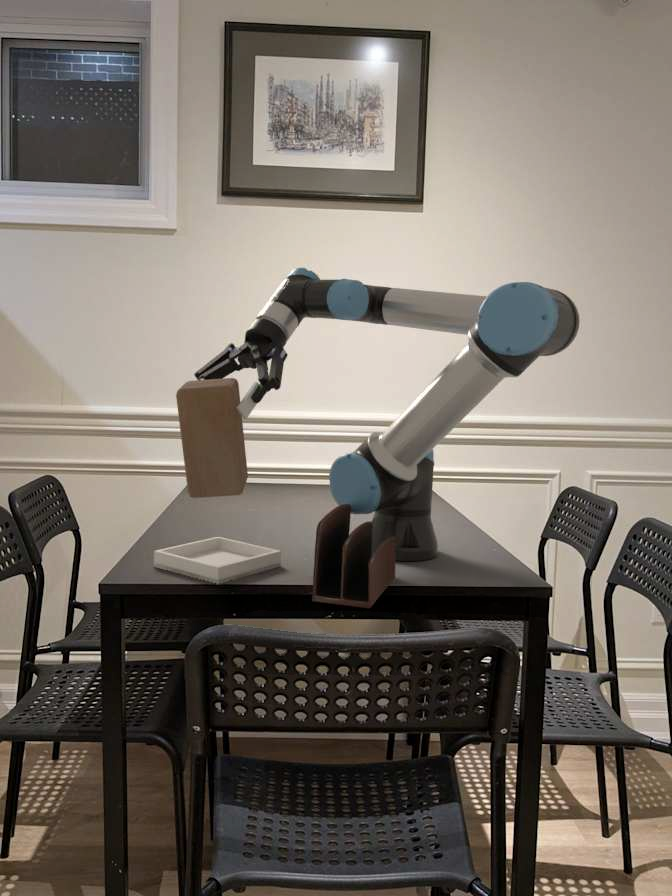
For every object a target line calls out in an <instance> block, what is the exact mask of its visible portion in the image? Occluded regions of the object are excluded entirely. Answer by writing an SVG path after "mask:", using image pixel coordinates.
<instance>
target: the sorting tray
mask: <svg viewBox="0 0 672 896" xmlns="http://www.w3.org/2000/svg"><path fill="white" fill-rule="evenodd" d="M281 561H282V551H281V550H279V549H274V548H271V547H265V546H261V545H256V544H253V543H248V542H245V541H244V542H243V541H239V540H236V539H235V540H234V539H231V538H230V539H229V538H226V537H222V536H215V537H210V538H207V539H201V540H197V541H192V542H188V543H187V542H186V543H183V544H179V545H175V546H169V547H166V548H162V549H157V550H153V567H154V568H157V569H161V570H164V571H167V570H168V572H172V573H175V574H178V573H180V574H179V575H182V574H183V575H182V576H185V575H186V577H189V576H190V578H193V577H194V578H193V579H196V578H198V579H197V580H200V579H201V580H200V581H203V580H205V581H204V582H207V581H209V582H208V583H211V582H212V583H211V584H214V583H216V584H215V585H221V584H224V583H223V582H225V583H228V582H231V581H230V580H232V581H236V580H238V578H239V579H241V578H242V579H243V578H246V577H248V576H252V575H256V574H259V573H263V572H267V571H269V570H273V569H277V568H280V567H281V563H282V562H281ZM245 576H246V577H245ZM227 581H228V582H227ZM220 583H221V584H220Z"/></svg>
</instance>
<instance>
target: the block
mask: <svg viewBox="0 0 672 896" xmlns="http://www.w3.org/2000/svg"><path fill="white" fill-rule="evenodd" d="M240 395H241V394H240V385H239V382H238V380H237V379H236V378H234V377H227V378H226V377H224V378H222V379H209V380H197V379H196V380H188V381H185V383H184V384H183V385H181V387H180V388H178V389H177V391H176V394H175V397H176V399H175V400H176V406H177V414H178V422H179V429H180V437H181V438H180V439H181V447H182V454H183V462H184V472H185V478H186V487H187V493H188V497H190V498H193V499H199V498H203V499H204V498H212V497H214V498H216V497H229V496H230V497H231V496H240V495H242V494H243V492H244V489H245V486H246V484H247V481H248V477H249V472H248V464H247V456H246V455H247V454H246V453H247V452H246V445H245V444H246V443H245V435H244V427H243V426H244V424H243V417H242V416H241V415H240V413H239V412H238V410H237V409H236V408H237V406H238V405H239V403H240V402H241V396H240Z"/></svg>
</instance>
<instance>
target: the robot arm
mask: <svg viewBox="0 0 672 896" xmlns="http://www.w3.org/2000/svg"><path fill="white" fill-rule="evenodd" d="M306 318H310V319H329V320H340V321H350V322H351V321H352V322H353V321H354V322H361V323H368V324H374V325H376V324H377V325H385V326H396V327H401V328H402V327H403V328H411V329H417V330H418V329H419V330H420V329H421V330H427V331H434V332H441V333H442V332H443V333H451V334H457V335H458V334H459V335H467V336H468V342H467V344H466V345H465V346H464V348H462V349H461V351H459V352H458V353H457V355H456V356H454V357H453V359H452V360H451V361H450V362H449V363H448V364H447V365H446V366H445V367H444V368H443V369H442V370H441V372H440V373H438V374H437V376H436V377H435V378H434V379H432V381H431V382H430V383H429V384H428V385H427V386H426V388H424V389H423V390H422V391H421V393H419V395H418V396H417V397H415V399H413V401H412V402H411V403H410V404H409V405H408V406H407V407H406V408H405V409H404V410H403V411H402V412H401V413H400V415H399V416H398V417H397V418H396V419H395V420H394V421H393V422H392V423H391V424H390V425H389V426H388V427H387V428H386V430H385V431H383V432H380V431H379V432H377V431H376V432H372V433H371V434H370V435H368V437H366V438H365V439H364V441H363V442H362V443H361V444H359V446H358V448H356V449H355V450H354V451H350V452H349V451H348V452H346V453H343V454H342V455H340V456H338V457H337V458H335V460H334V461H333V462H332V464H331V466H330V469H329V472H328V480H329V491H330V493H331V496H332V498H333V500H334V502H335V503H336V504H337V505H338V506H340V505H343V504H350V506H351V514H352V515H369V514H372V513H373V517H372V519H371V522H372V524H373V533H372V554H371V557H372V555H373V554H374V552H375V551H376V549H377V548H378V547H379V545H380V544H381V543H382V542H384V541H385V540H386V539H387V538H389V537H392V536H393V537H395V542H396V545H395V561H400V562H417V561H427V560H431V559H434V558H436V557H437V556H438V549H439V545H438V540H437V536H436V532H435V528H434V525H433V521H432V503H433V502H432V499H433V498H432V497H433V486H434V485H433V483H434V469H435V468H434V467H435V460H434V459H435V458H434V457H435V455H434V448H435V447H436V446H437V445H438V444H439V443H441V442H442V440H443V439H444V438H446V436H447V435H448V434H449V433H451V431H452V430H453V429H455V427H456V426H457V425H459V424H460V423H461V422H462V421H463V419H465V418H466V417H467V416H468V415H469V414H470V413H471V411H473V410H474V408H476V407H477V405H479V404H480V403H481V402H482V401H483V400H484V399H485V398H486V397H487V395H489V394H490V393H491V392H492V391H493V390H494V389H495V388H496V387H497V386H498V385H499V384H500V383H501V382H502V381H503V380H504V379H505V378H519V376H521V375H522V374H523V372H525V371H526V370H527V369H528V368H529V367H530V366H531V365H532V364H533V363H534V362H535V361H536V360H537V359H538V358H540V357H549V356H554V355H557V354H559V353H561V352H563V351H564V350H566V349H567V348H568V347H570V346H571V344H572V343H573V342H574V341H575V339H576V337H577V335H578V332H579V329H580V314H579V310H578V308H577V306H576V304H575V302H574V301H573V300H572V299H571V297H569V296H568V295H567V294H565V293H564V292H561V291H560V290H558V289H557V290H556V289H553V288H548V287H544V286H542V285H539V284H537V283H535V282H530V281H518V282H517V281H516V282H509V283H506V284H503V285H501V286H499V287H497V288H495V289H494V290H493V291H491V292H490V293H488V295H475V294H464V293H457V292H456V293H454V292H443V291H433V290H423V289H421V290H420V289H411V288H399V287H389V286H379V285H371V284H364V283H363V282H362V281H360V280H358V279H348V278H340V279H321V278H320V277H319V275H318V274H316V273H315V272H314V271H312V270H311V269H310V270H308V269H307V268H306V267H297V268H294V269H293V270H291V271H290V272H289V274H288V275H287V276H286V277H285V278H284V279H283V280H282V281H281V283H280V285H279V286H278V288H277V289H276V291H275V292H274V293H273V294H272V296H271V297H270V298H269V300H268V302H267V303H266V304H265V305H264V307H262V309H261V310H260V312H259V313H258V315H257V316H256V318H255V320H253V322H252V323H251V324H250V326H249V327H248V328H247V330H246V332H245V334H244V342H243V343H242V344H241V345H239V346H235V344H234V343H233V342H230V343H229V344H228V345H227V346H226V347H225V348H224V349H223V350H222V351H221V352H219V353H218V354H217V355H215V357H214V358H212V359H210V360H209V361H208V362H207V363H206V364H205V365H203V366H202V367H201V368H200V369H198V370H197V371H196V372H194V373H193V375H194V377H195V378H196V380H210V379H224V378H226V377H227V376H229V375H231V374H232V373H234V372H240V371H242V370H243V369H249V368H250V369H253V370H254V369H255V370H256V372H257V380H258V381H253V384H252V385H251V386H250V388H249V389H248V391H247V392H246V393H245V394H244V396H243V397H242V399H241V400H240V403H239V405H238V406H237V408H236V409H237V410H238V412H239V413H240V415H241V416H242V420H243V419H244V420H246V419H248V418H249V417H250V415H251V413H252V412H253V410H254V409H255V407H256V406H257V405H258V404H259V403H260V402H261V401H262V399H263V398H264V397H265V395H266V394H267V393H269V392H270V391H271V390H272V389H274V390H275V391H278V390H279V389H280V388H281V386H282V378H283V371H284V363H285V361H286V360H287V358H288V353H287V351H286V349H285V348H284V347H285V346H286V344H287V342H288V341H289V340H290V338H291V337H292V336H293V334H294V332H295V331H296V329H297V328H298V327H299V326H300V324H301V323H302V321H303V320H304V319H306ZM236 360H237V361H236ZM270 360H271V361H270ZM269 361H270V368H269V365H268V362H269Z"/></svg>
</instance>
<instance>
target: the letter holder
mask: <svg viewBox="0 0 672 896" xmlns="http://www.w3.org/2000/svg"><path fill="white" fill-rule="evenodd" d="M350 527H351V506H350V504H343V505H340V506H339V505H338V506H336V507H335V508H333V509H332V510H330V511H329V512H328V513H326V515H324V516H323V518H322V519H321V520H320V521H319V522H318V524H317V526H316V532H315V545H314V558H313V559H314V562H313V579H312V595H311V601H312V602H315V603H322V604H331V605H337V606H338V605H339V606H344V607H345V606H347V607H353V608H361V609H362V608H364V609H371V608H372V607H373V605H374V604H375V603H376V601H377V600H378V599H379V598H380V597H381V595H382V594H383V593H384V591H386V589H387V588H388V587H389V585H390V584H391V583H392V581H393V580H394V579H395V578H396V560H395V545H396V542H395V537H393V536H392V537H389V538H387V539H386V540H385V541H384V542H382V543H381V544H380V545H379V547H378V548H377V549H376V551H375V552H374V554H373V555H372V556H371V554H372V533H373V524H372V520H371V521H365V522H363V523H361V524H360V525H357V526H356V528H354V529H353V530H352V531H351V532H350Z"/></svg>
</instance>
